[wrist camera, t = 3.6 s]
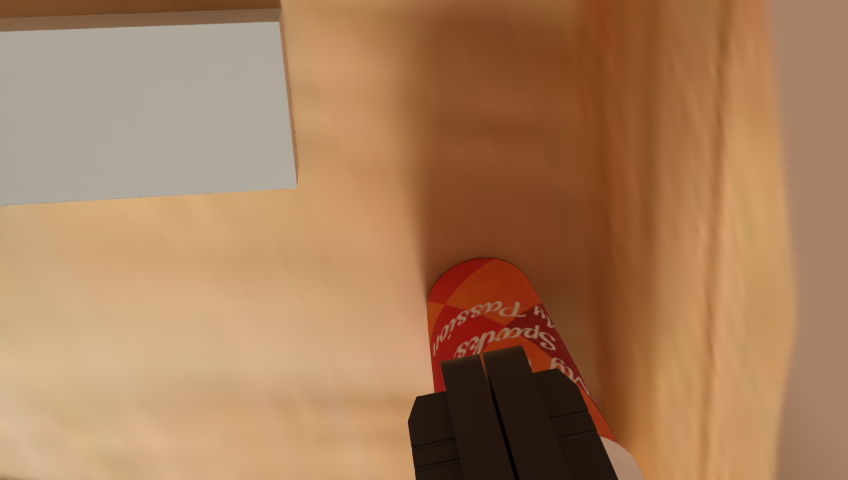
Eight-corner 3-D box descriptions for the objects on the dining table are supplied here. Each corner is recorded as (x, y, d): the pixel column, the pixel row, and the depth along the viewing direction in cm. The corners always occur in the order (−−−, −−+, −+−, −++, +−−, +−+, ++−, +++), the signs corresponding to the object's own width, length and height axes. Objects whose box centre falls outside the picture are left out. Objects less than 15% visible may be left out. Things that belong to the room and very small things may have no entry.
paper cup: (554, 230, 36) (669, 447, 24) (549, 349, 40) (644, 583, 28) (397, 248, 35) (436, 479, 23) (408, 366, 39) (445, 613, 28)
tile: (282, 5, 29) (278, 21, 27) (298, 162, 33) (297, 188, 31) (-88, 17, 28) (-122, 36, 26) (-27, 181, 31) (-53, 208, 29)
